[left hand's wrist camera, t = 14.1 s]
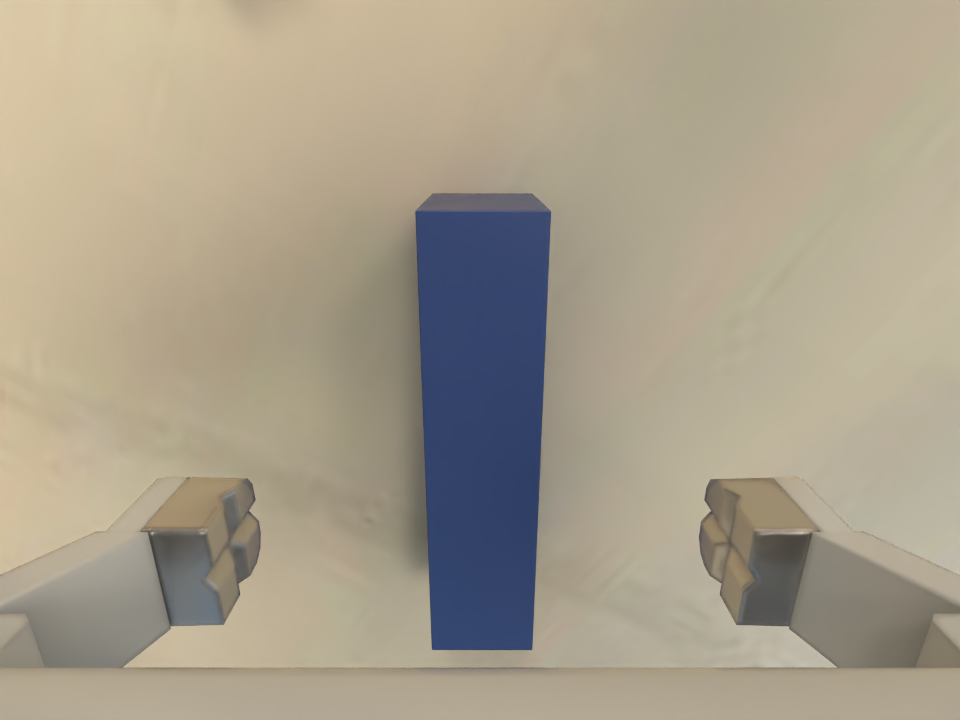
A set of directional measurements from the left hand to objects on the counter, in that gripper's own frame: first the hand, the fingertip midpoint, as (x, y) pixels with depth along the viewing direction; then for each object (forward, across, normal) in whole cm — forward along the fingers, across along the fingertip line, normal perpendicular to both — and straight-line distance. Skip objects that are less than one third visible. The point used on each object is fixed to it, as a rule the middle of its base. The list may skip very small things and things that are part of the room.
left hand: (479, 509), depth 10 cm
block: (+24, 0, -8) cm, 25 cm away
